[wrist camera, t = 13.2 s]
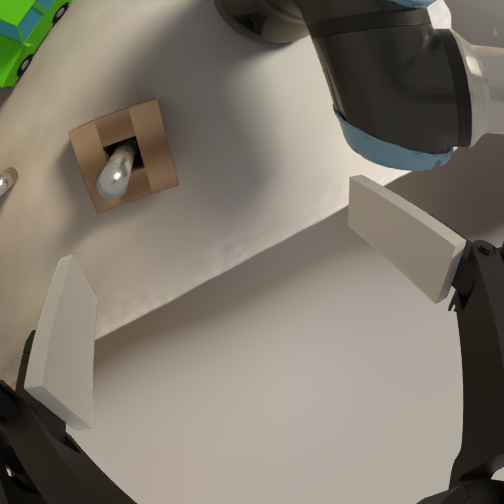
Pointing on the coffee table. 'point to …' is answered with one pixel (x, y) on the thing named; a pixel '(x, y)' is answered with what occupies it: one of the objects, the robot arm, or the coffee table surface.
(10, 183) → the short pin
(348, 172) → the coffee table surface
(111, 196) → the long pin
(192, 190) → the coffee table surface
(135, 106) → the hole block
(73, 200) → the coffee table surface
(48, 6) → the toy car
